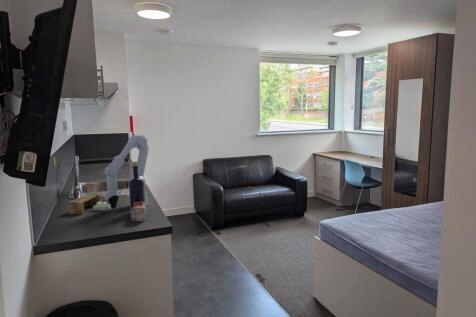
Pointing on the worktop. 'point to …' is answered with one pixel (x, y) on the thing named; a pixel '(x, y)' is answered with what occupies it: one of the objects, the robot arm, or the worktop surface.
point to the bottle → (136, 187)
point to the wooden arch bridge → (83, 203)
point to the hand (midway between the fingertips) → (113, 208)
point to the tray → (101, 207)
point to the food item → (138, 212)
